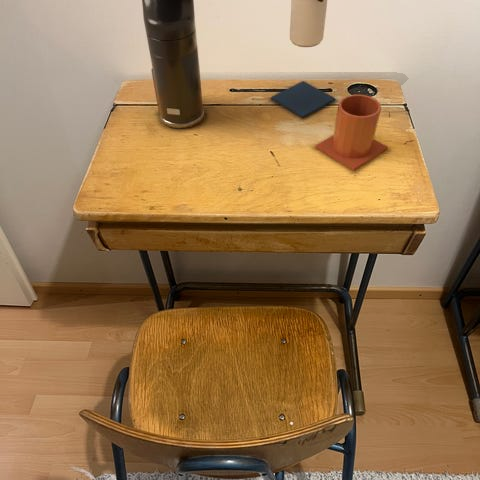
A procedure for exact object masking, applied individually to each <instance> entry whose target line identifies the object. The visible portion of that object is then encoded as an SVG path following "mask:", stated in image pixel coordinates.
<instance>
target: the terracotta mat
mask: <svg viewBox="0 0 480 480" xmlns="http://www.w3.org/2000/svg"><path fill="white" fill-rule="evenodd" d="M332 142H333V135H331V136H329V137H328V138H326V139H324V140H323V141H321V142H319V143H317V144H316V145H315V149H316V150H318V151H319V152H321V153H323V154H325V155H326V156H328V157H330V158H331V159H332V160H334V161H335V162H338V163H339V164H341V165H343V166H344V167H346V168H347V169H349V170H351V171H352V172H355V171H356V170H358V169H359V168H361V167H363V166H364V165H366V164H367V163H369V162H370V161H372V160H374V159H375V158H377V157H378V156H380V155H381V154H383V153H385V152H386V151H388V148H389V146H387V145H385V144H383V143H382V142H380V141H378V140H376V139H374V141H373V145H372V149H371V151H370V153H369V154H367V155H365V156H364V157H359V158H348V157H344V156H341V155H339V154H338V153H336V152H335V151H334V149H333V147H332Z"/></svg>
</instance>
